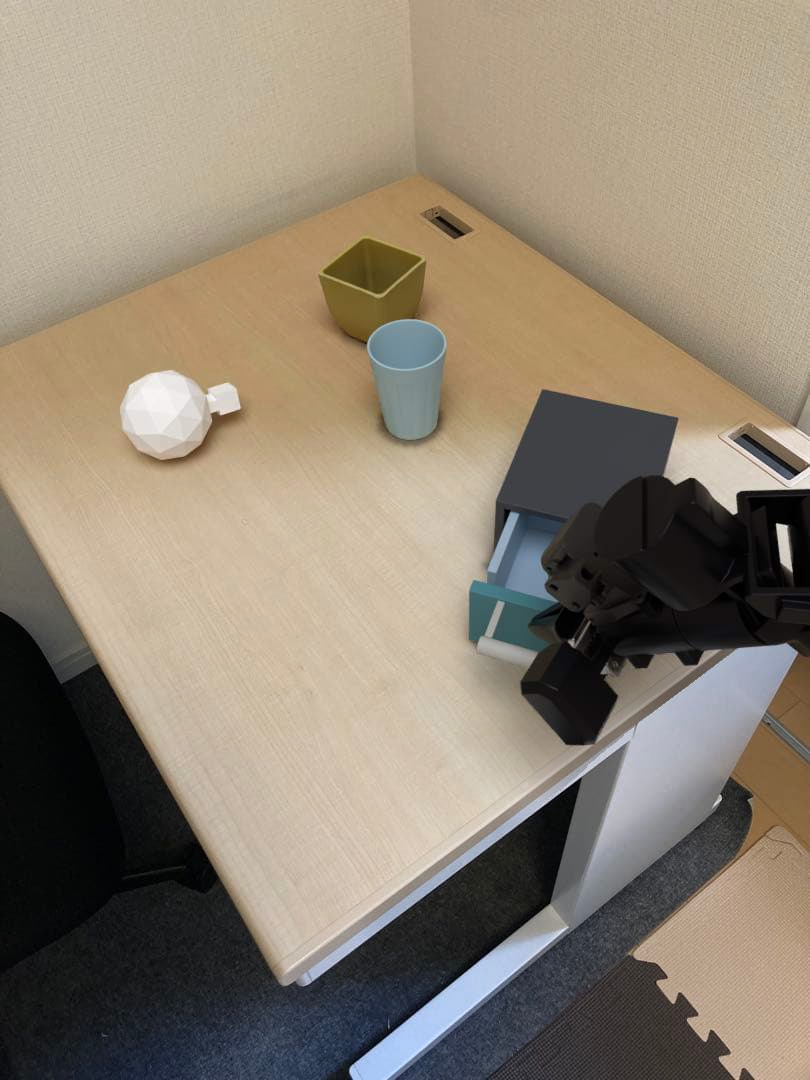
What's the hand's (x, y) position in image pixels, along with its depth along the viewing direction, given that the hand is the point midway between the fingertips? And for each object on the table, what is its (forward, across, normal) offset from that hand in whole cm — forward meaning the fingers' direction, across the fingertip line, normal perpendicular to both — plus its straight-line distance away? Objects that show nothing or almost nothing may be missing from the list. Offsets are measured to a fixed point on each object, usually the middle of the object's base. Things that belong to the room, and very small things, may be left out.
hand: (533, 626), depth 70 cm
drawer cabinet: (+8, -17, +3) cm, 19 cm away
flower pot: (+31, -32, -20) cm, 49 cm away
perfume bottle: (+36, -7, -25) cm, 44 cm away
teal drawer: (+5, -5, +4) cm, 8 cm away
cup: (+23, -21, -12) cm, 33 cm away
